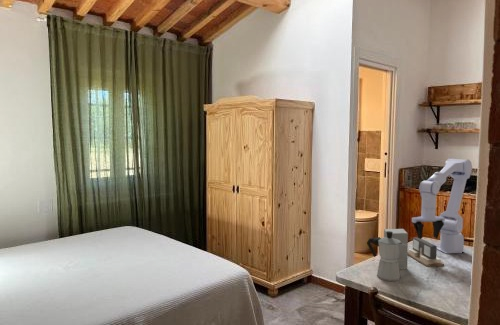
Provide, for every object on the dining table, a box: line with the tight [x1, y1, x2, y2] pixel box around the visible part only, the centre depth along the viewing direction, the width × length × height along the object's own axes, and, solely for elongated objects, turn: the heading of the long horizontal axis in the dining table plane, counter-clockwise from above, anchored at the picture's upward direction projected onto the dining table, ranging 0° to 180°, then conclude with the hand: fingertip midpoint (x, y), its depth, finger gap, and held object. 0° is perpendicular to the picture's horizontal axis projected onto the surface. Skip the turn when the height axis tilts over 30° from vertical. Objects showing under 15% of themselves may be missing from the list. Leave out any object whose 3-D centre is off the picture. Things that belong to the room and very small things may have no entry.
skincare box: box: [383, 228, 409, 270], centre depth 155 cm, size 8×7×16 cm
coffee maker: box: [366, 231, 406, 282], centre depth 145 cm, size 15×9×18 cm, turn 57°
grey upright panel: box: [412, 236, 438, 259], centre depth 165 cm, size 14×3×6 cm, turn 7°
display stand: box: [408, 248, 445, 268], centre depth 165 cm, size 8×17×5 cm, turn 7°
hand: (427, 237), depth 166 cm, fingers open, 7 cm apart
